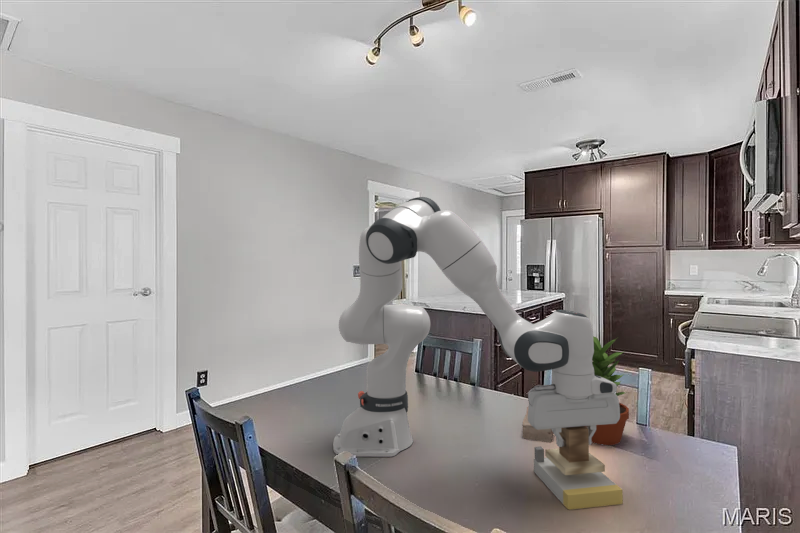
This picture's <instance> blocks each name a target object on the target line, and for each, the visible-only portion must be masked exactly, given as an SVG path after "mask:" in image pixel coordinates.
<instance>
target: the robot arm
mask: <svg viewBox="0 0 800 533" xmlns="http://www.w3.org/2000/svg"><path fill="white" fill-rule="evenodd" d="M419 252H422V253H425V254H427V256H430V258H431V259H432V260H433V261H434V263H435V264H436V265H437V266H438V268H439V269H440V270H441V273H442V274H444V276H445V277H446V278H447V280H449V281H450V282H451V283H452V284H453V286H455V288H456V289H458V290H459V291H461V292H462V293H463V294H464V295H466V296H468V297H469V298H470V299H472V300H473V301H474V303H476V304H477V305H478V307H480V309H481V311H482V312H483V313H484V315H485V316H486V317H487V318H488V320H489V321H490V322H491V324H492V325H493V326H494V328H495V330H496V331H497V332H496V333H497V335H498V340H499V345H500V346H501V347H500V348H501V349H502V351H503V353H504V354H505V355H507V357H509V358H510V359H512V360H513V361H514V362H516V364H518V365H519V367H521V368H523V369H524V370H526V371H529V372H534V373H535V372H536V373H537V372H545V371H551V384H544V385H543V384H542V385H540V384H537V385H534V386H533V387H532V388H530V390H529V391H528V393H527V401H528V406H529V407H528V406H527V407H528V422H529V423H530V424H531V426H533V427H534V428H535V429H537V430H540V429H551V430H552V432H553V436H555V439H556V440H555V442H556V445H557V447H558V448H559V447H566V439H565V438H564V437H563V436H561V435H560V434H559V432H561V428H566V427H579V426H586V427H587V428H588V432H589V446H590V445H592V444H593V443H592V440H591V437H592V436H593V435H594V433H595V431H596V425H605V424H616V423H617V422H618V421H619V419H620V407H619V403H620V401H619V397H618V396H617V395H616V394H615V393H617V390H618V386H617V385H616V384H615V383H613V382H611V381H610V380H607V379H605V378H603V377H600V376H597V375H594V367H593V364H592V357H593V354H594V341H593V336H594V332H593V327H592V326H593V325H592V322H591V319H590V318H589V317H588V316H587V315H585V314H583V313H581V312H577V311H572V310H566V309H557V310H554V311H553V312H552V313H551V314H550V315H549V316H547V317H546V318H544V319H542V320H540V321H537V322H536V323H533V322H531V321H530V320H527V319H526V318H524V317H522V316H520V314H519V313H517V311H516V310H515V308H514V307H513V306H512V304H511V303H510V302H509V300H508V299H507V298H506V296H505V295H504V293H503V292H502V290H501V289H500V287H499V285H498V282H497V271H498V270H497V269H498V268H497V264H496V261H495V260H494V258H493V256H492V254H491V252H490V250H489V249H488V247H487V246H486V245H485V243H484V242H483V241H482V240H481V238H480V236H478V235H477V233H476V232H475V231H474V230H473V229H472V227H470V226H469V225H468V223H467V222H465V221H464V220H463V219H462V218H461V217H460V216H459V215H458V214H456V212H454V211H452V210H450V209H441V208H440V207H439V205H438V203H437V202H435V201H434V200H433V199H431V198H429V197H428V196H427V197H426V196H418V197H413V198H411V199H408V200H407V201H406V202H404V203H401V204H399V205H397V206H395V207H394V208H392V209H391V210H390V211H389V212H387V213H386V214H384V215H383V216H382V217H381V218H378V219H377V220H375V222H373V223H372V224H371V225H369V226H367V227H365V229H364V230H362V232H361V233H360V238H359V246H358V264H359V275H360V276H359V277H360V278H359V279H360V282H359V283H360V284H359V286H360V289H359V293H358V294H359V295H358V297H357V298H356V300H355V301H354V302H353V303H352V304H351V305H349V306H348V307H347V308H345V309H344V310H343V312H342V313H341V315H340V317H339V320H338V330H339V334H340V336H341V338H343V340H344V341H345V342H347V343H351V344H356V345H357V344H358V345H387V347H388V348H387V350H386V351H385V352H384V353H382V354H380V355H377V356H376V357H375V358H373V359H372V360H370V362H368V364H367V367H366V369H365V370H366V392H365V391H363V390H360V391H359V392H357V396H358V397H357V398H358V400H359V407H358V408H357V409H355V410H354V411H353V412H351V413H350V414H349V415H347V416H346V418H344V420H343V422H342V426H341V429H340V432H339V433H338V434H336V436H334V439H333V442H332V443H333V444H332V449H333V452H334V453H335V455H337V454H339V453H341V452H343V451H348V452H350V453H351V454H353V455H356V456H355V457H370V458H371V457H373V458H374V457H376V458H377V457H384V458H385V457H387V458H388V457H395V456H396V455H397V454H399V452H401V451H403V450H405V449H407V448H409V447H411V446H412V444H413V442H414V439H413V436H412V433H411V429H410V424H409V417H408V411H409V395H408V392H407V391H408V390H407V385H406V384H407V382H406V381H407V378H406V377H407V366H408V362H409V358H410V356H411V354H412V353H413V351H414V350H415V348H416V347H418V346H419V345H420V343H421V342H423V341H424V340H425V339H426V338H427V337H428V335H429V333H430V329H431V318H430V315H429V313H428V312H427V310H426V309H425V308H424V307H422V306H418V305H413V304H389V303H391V302H393V301H394V300H396V299H397V298H398V296H400V294H401V292H402V290H403V286H404V285H403V268H402V267H403V264H402V263H403V262H402V261H406V260H410V259H413V258H415V257H416V256H417V253H419Z"/></svg>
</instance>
